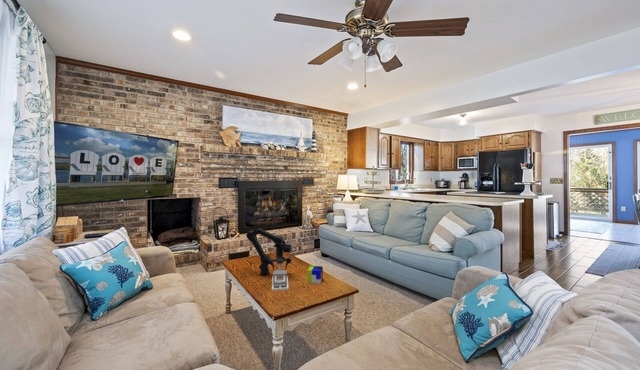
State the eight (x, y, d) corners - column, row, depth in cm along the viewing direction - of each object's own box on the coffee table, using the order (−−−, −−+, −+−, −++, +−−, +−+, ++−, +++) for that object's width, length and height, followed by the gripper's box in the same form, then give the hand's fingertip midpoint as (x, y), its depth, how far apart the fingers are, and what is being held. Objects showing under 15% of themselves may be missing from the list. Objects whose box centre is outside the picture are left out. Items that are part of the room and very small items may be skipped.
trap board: (288, 289, 195) (288, 287, 195) (271, 290, 193) (271, 288, 193) (287, 276, 218) (287, 275, 218) (272, 278, 217) (272, 276, 216)
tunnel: (286, 284, 200) (286, 273, 200) (273, 285, 198) (273, 274, 198) (286, 280, 207) (286, 270, 206) (273, 281, 205) (273, 270, 205)
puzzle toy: (320, 283, 205) (320, 271, 204) (307, 282, 207) (307, 270, 206) (322, 278, 214) (322, 266, 214) (310, 277, 216) (310, 265, 216)
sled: (283, 279, 208) (283, 269, 208) (276, 280, 208) (275, 270, 207) (283, 272, 224) (283, 263, 223) (276, 272, 223) (276, 263, 222)
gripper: (267, 255, 212) (268, 275, 212) (291, 254, 214) (291, 273, 215) (268, 251, 223) (268, 270, 223) (290, 250, 225) (291, 268, 226)
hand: (279, 270), depth 222 cm, fingers open, 9 cm apart
